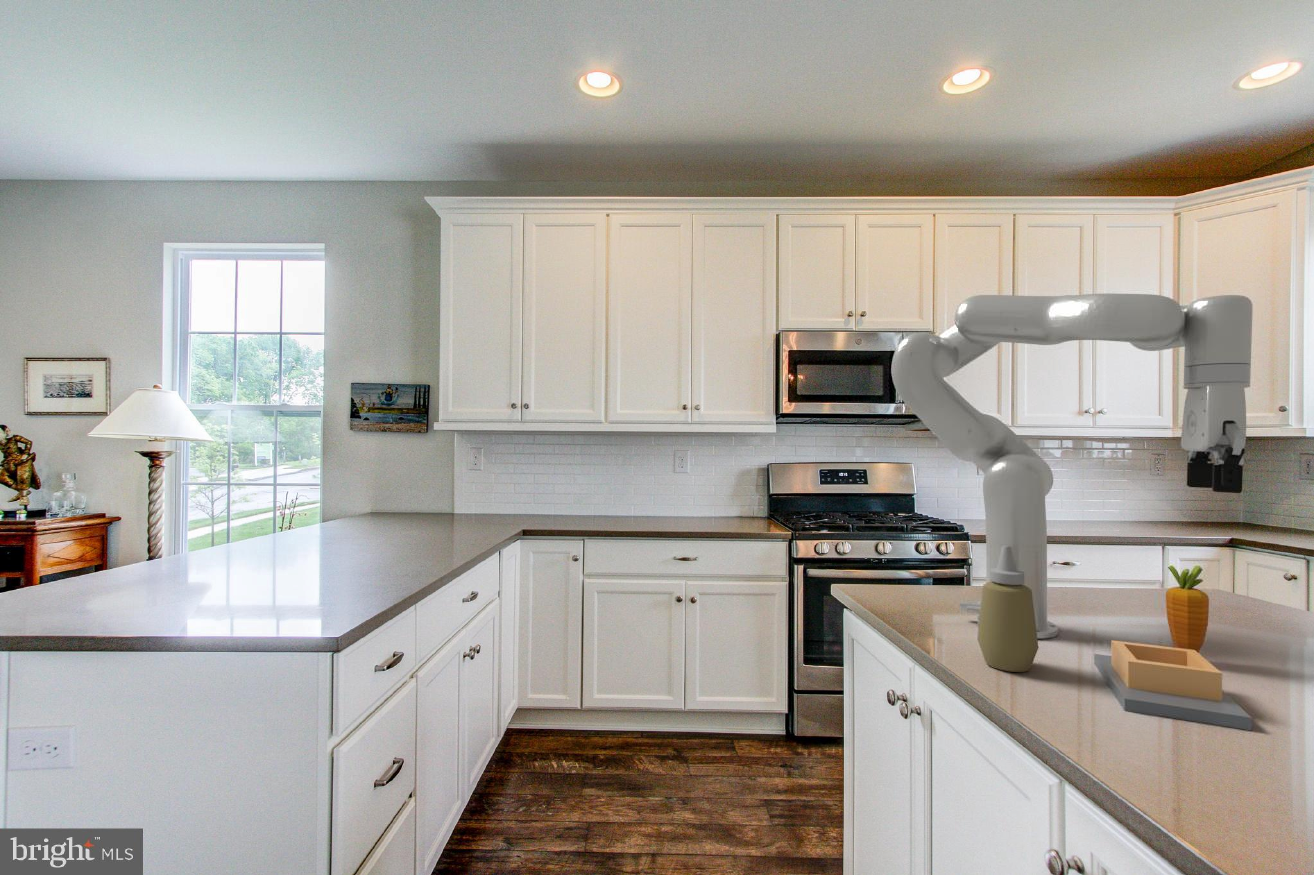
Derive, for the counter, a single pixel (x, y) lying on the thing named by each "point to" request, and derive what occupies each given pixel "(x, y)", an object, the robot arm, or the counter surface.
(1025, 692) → the counter surface
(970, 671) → the counter surface
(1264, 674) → the counter surface
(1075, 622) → the counter surface
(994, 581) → the squeeze bottle
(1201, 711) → the socket block
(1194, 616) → the carrot
